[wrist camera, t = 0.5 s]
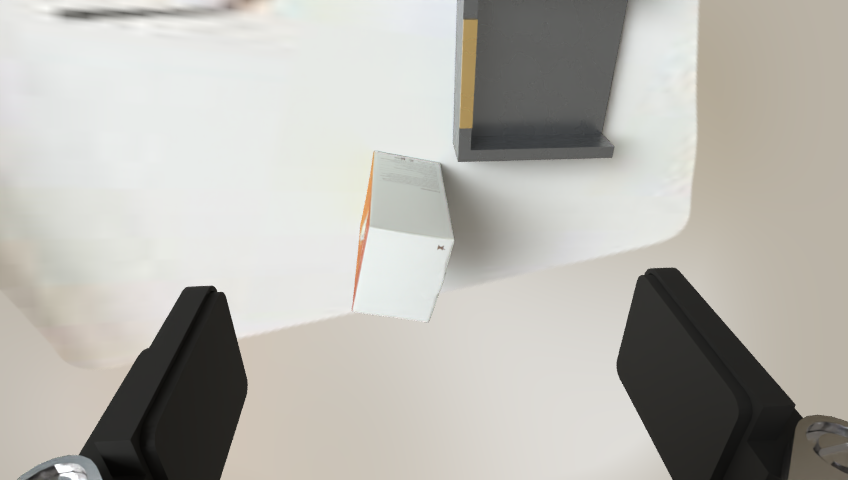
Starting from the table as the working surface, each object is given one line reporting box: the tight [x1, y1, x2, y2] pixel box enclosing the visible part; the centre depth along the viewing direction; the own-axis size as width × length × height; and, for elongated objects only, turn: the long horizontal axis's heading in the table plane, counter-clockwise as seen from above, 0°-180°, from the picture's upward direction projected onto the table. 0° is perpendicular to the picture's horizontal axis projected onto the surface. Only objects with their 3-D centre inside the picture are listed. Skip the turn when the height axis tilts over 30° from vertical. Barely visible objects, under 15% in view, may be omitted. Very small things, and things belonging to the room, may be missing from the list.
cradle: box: [453, 0, 628, 162], centre depth 40 cm, size 14×13×4 cm
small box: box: [352, 151, 455, 323], centre depth 43 cm, size 8×6×13 cm
